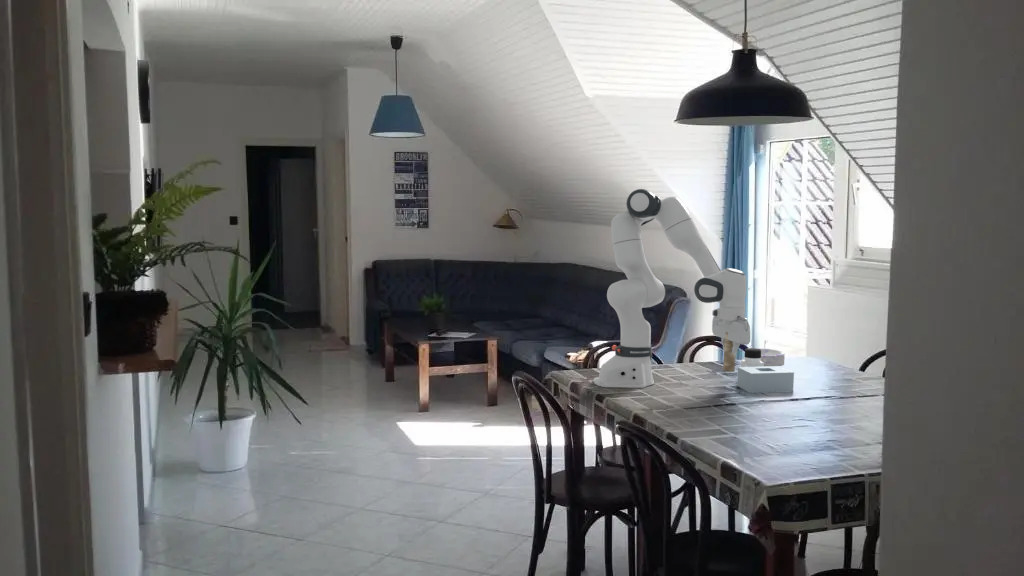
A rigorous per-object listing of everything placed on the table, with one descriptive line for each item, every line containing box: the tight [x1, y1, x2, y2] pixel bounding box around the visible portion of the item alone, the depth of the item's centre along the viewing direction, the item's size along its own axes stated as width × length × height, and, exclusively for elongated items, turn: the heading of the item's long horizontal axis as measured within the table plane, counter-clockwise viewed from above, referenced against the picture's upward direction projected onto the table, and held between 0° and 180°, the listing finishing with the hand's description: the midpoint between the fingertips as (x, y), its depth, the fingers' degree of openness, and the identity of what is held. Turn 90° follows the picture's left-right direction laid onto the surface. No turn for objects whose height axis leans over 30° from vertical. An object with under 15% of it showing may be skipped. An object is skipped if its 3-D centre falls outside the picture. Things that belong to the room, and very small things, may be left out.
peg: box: [722, 332, 737, 373], centre depth 316 cm, size 4×4×14 cm
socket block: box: [736, 366, 795, 394], centre depth 319 cm, size 16×12×7 cm
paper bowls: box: [757, 348, 786, 367], centre depth 352 cm, size 15×15×8 cm
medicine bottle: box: [740, 347, 764, 367], centre depth 334 cm, size 7×7×12 cm
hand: (729, 352), depth 316 cm, fingers closed on peg, 4 cm apart
